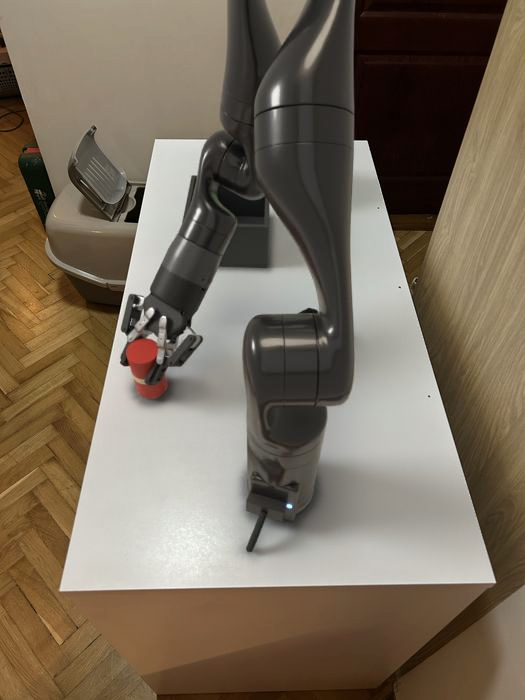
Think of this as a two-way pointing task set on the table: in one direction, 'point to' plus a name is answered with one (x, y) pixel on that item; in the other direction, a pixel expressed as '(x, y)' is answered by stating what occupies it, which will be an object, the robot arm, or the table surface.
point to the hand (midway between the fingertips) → (137, 374)
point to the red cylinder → (144, 367)
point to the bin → (242, 228)
